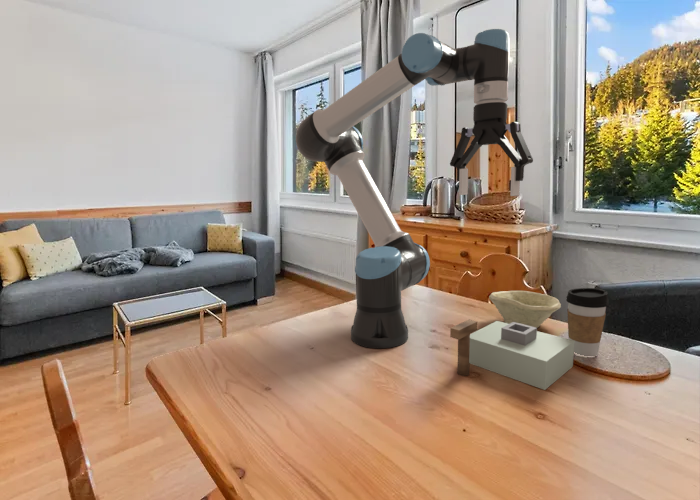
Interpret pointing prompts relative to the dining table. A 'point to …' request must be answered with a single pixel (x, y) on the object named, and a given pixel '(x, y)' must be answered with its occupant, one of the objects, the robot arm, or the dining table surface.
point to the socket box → (521, 353)
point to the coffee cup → (586, 318)
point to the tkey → (463, 344)
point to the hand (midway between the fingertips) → (487, 195)
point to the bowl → (524, 306)
